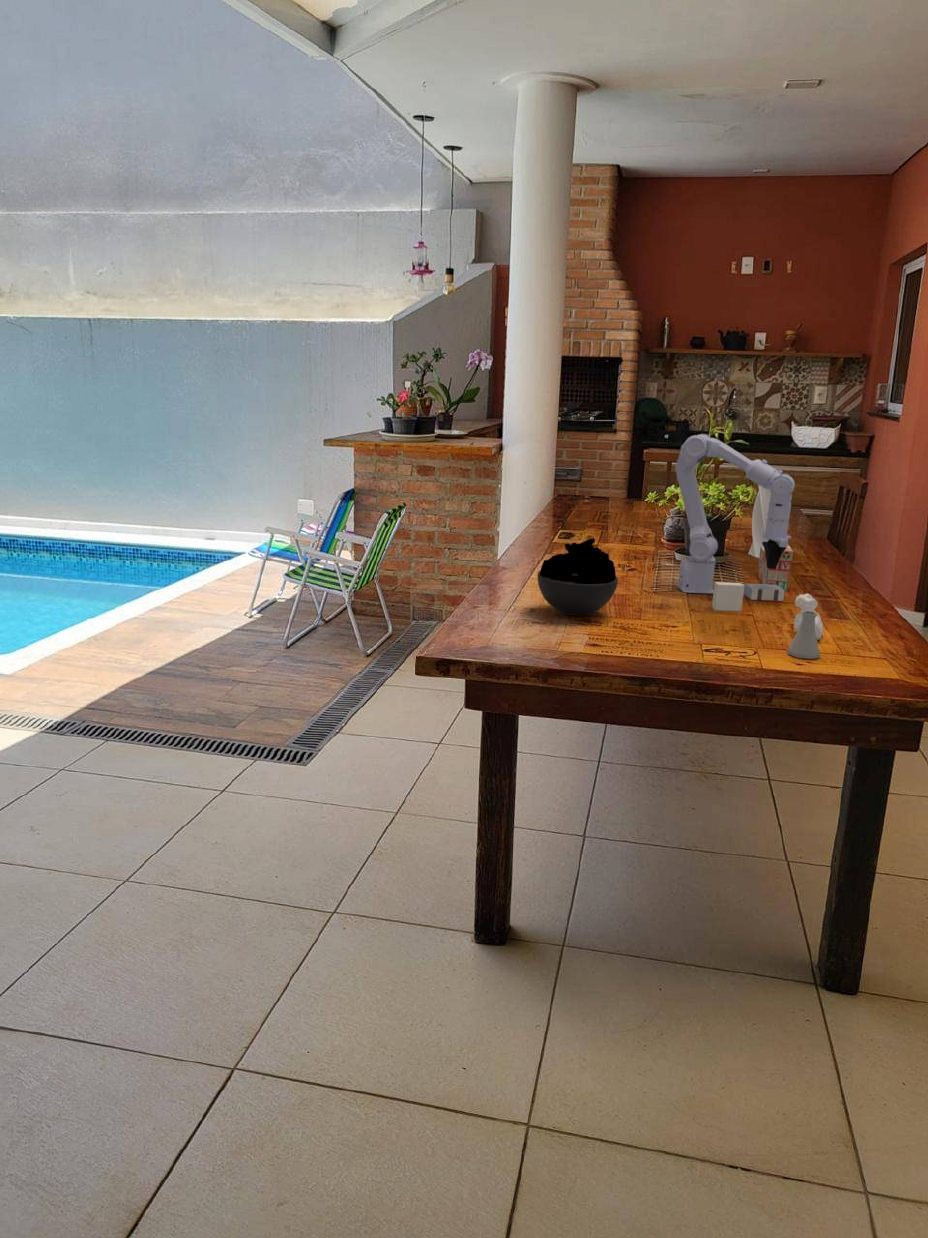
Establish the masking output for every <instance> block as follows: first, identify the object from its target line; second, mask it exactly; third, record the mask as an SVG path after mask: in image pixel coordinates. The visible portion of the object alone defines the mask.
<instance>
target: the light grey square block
mask: <svg viewBox="0 0 928 1238" xmlns="http://www.w3.org/2000/svg"><path fill="white" fill-rule="evenodd" d="M713 585H714V586H713V590H714V594H713V596H712V602H711V604H712V606H711V609H713V610H714V611H719V612H721V611H722V612H729V611H730V612H742V608H743V600H744V595H745V594H744V587H745V584H743V583H741V582H723V581H722V582H721V581H715V582H714V584H713Z"/></svg>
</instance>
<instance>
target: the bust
mask: <svg viewBox="0 0 928 1238" xmlns="http://www.w3.org/2000/svg"><path fill="white" fill-rule="evenodd" d="M794 605H795V607H797V608H801V610H800V611H799V612H798V613H797V614H796V615H795V617H794V618H795V619H794V621H793V622H794V623H793V626H794V629H795V631H796V632H797V631H798V630H799V628H800V625H801V622H802V618H803V614H802V611H813V612H816V613H817V616H816V617H815V634H816V639H817V641H818V640H820V639H822V636H823V633H824V631H825V629H824V624H823V621H822V618H821V616H820V614H819V613H818V612H817V611H816V608H817V607H818V606H819V604H818V601H817V600H816V599H815V598H814V597H813V596H812V595H811V594H809V593H805V594H801V593H800V594H799V595H797V596H796V599H795V601H794Z"/></svg>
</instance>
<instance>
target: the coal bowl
mask: <svg viewBox="0 0 928 1238" xmlns="http://www.w3.org/2000/svg"><path fill="white" fill-rule="evenodd" d="M595 542H596V539H595V538H594V537H591V538H588V539H586V540H584V541H581V542H579V543H577V542H571V544H570V543H565V544H564V549H565V550H566V551H567V552H566V553H558V554H555V555H551V557H550V558H548V559H547V560H546V559H544V560H543V562H542V564H541V567H540V570H539V571H538V573H537V585H538V588H539V591H540V593H541V595H542V598H544V600H545V601H546V602H547V604H549V605H550V606H551V607H552V608H553V609H554V610H556V611H558V612H560V613H562V614H564V615H568V616H573V617H574V616H575V617H581V616H587V615H591V614H594V613H595V612H598V611H599V610H601V609H602V608H604V606H606V605H607V604H608V603H609V602H610V600H611V599H612V597H613V596H614V594H615V591H616V589H617V586H618V582H619V578H618V577H617V576H616V575H617V574H616V568H615V562H614V561H613V560H612V559H610V555H609V553H606V552H604V551H602V549H600V548H599V547H598V546H596V547H595V546H594V545H593V544H595Z"/></svg>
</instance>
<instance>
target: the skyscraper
mask: <svg viewBox="0 0 928 1238" xmlns="http://www.w3.org/2000/svg"><path fill="white" fill-rule="evenodd" d="M757 485H758V484H757ZM757 487H758V492H757V495H756V497H755V500H754V505H753V509H752V516H751V517H752V518H751V532H752V533H751V534H752V543H751V546H750V549H749V550H748V553H747V555H748V554H749V555H748V556H750V555H751V556H750V557H752V556H753V558H755V557H756V559H758V560H759V559H760V548H761V547H763V544H762V542H768V541H769V539H767V538H763V533H764V531H765V530H766V523H767V516H768V508H769V502H770V499H771V492H770V489H765V488H763V487H762V486H760V485H758V486H757Z"/></svg>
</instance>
